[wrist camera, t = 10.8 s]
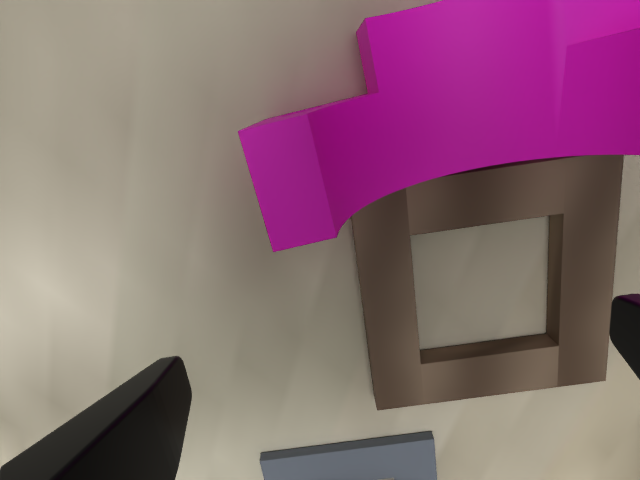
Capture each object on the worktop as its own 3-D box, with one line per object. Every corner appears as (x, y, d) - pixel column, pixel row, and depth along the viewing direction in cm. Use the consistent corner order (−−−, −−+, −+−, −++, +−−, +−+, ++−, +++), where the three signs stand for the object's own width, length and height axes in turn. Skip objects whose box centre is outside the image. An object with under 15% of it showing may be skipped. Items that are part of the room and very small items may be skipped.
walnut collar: (605, 146, 19) (624, 149, 18) (591, 366, 23) (605, 380, 22) (347, 184, 20) (349, 190, 19) (374, 395, 24) (377, 410, 23)
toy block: (601, -32, 17) (799, -121, 10) (605, 122, 19) (774, 135, 12) (250, 60, 18) (210, 36, 11) (287, 198, 20) (273, 252, 13)
